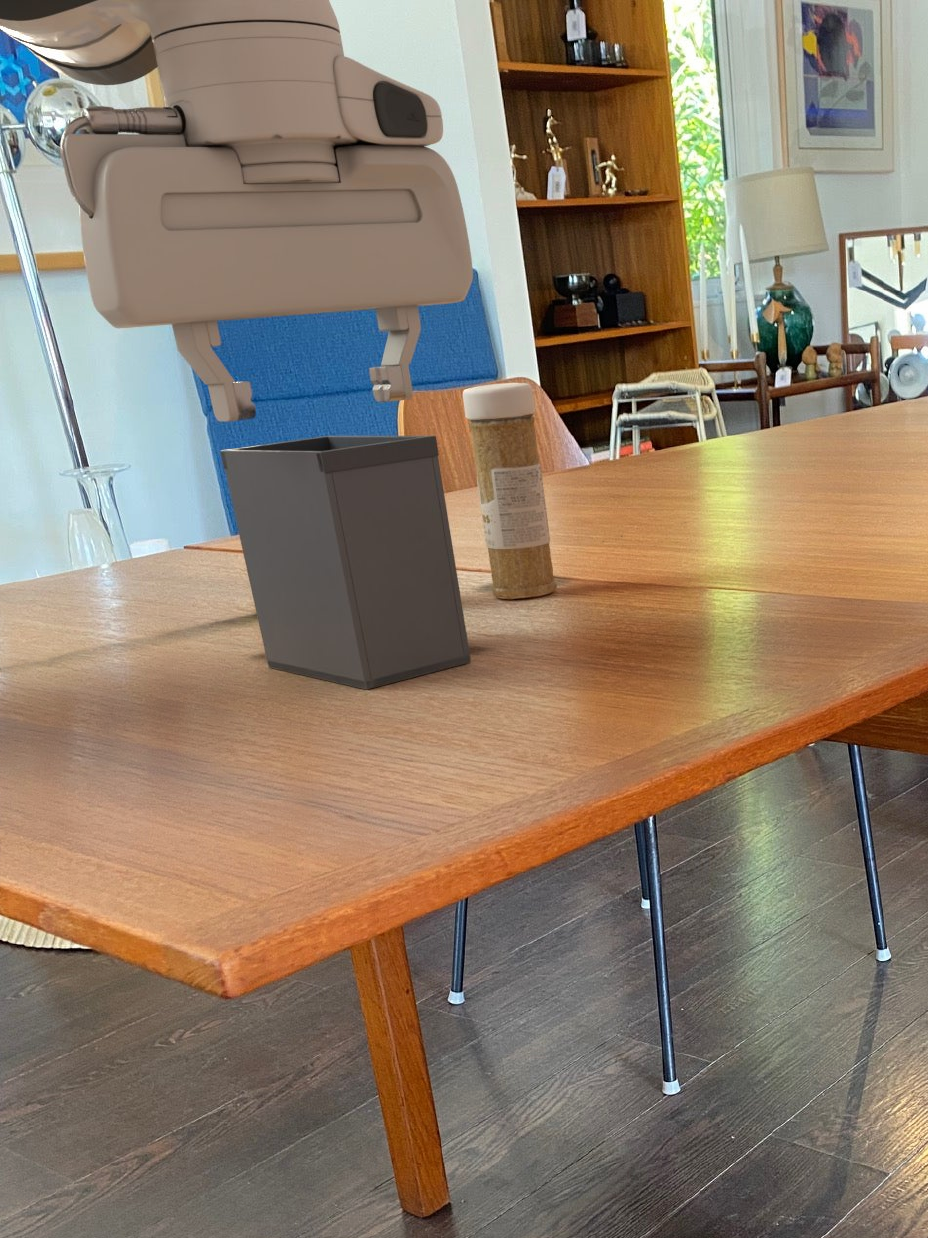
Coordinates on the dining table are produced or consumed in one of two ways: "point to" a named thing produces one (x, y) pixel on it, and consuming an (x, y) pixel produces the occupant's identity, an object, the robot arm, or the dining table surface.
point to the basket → (349, 557)
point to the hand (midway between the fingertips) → (318, 410)
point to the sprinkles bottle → (510, 489)
